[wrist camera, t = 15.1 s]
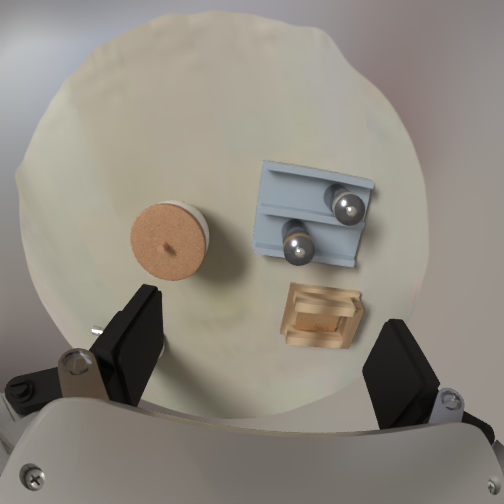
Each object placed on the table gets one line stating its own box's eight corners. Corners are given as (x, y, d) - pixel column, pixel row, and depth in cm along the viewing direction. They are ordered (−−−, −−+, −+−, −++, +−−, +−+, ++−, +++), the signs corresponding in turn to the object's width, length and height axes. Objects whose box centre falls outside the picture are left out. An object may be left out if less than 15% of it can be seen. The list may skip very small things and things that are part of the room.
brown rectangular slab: (294, 325, 46) (294, 328, 45) (300, 303, 44) (300, 306, 43) (333, 329, 46) (333, 332, 45) (340, 308, 44) (341, 310, 43)
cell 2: (321, 207, 38) (332, 224, 31) (325, 181, 37) (339, 192, 29) (346, 212, 38) (362, 230, 31) (351, 186, 37) (370, 198, 29)
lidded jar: (213, 190, 39) (197, 205, 31) (219, 258, 44) (206, 288, 35) (147, 195, 40) (118, 210, 32) (156, 258, 44) (133, 285, 36)
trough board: (251, 245, 42) (250, 253, 40) (263, 159, 37) (262, 161, 34) (351, 259, 42) (356, 267, 39) (370, 179, 37) (377, 182, 34)
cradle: (280, 330, 48) (280, 346, 44) (290, 282, 44) (292, 297, 40) (342, 336, 48) (347, 352, 44) (358, 291, 44) (366, 305, 40)
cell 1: (283, 217, 39) (287, 235, 32) (309, 221, 39) (319, 240, 32) (279, 242, 41) (281, 265, 33) (304, 245, 41) (312, 270, 33)
